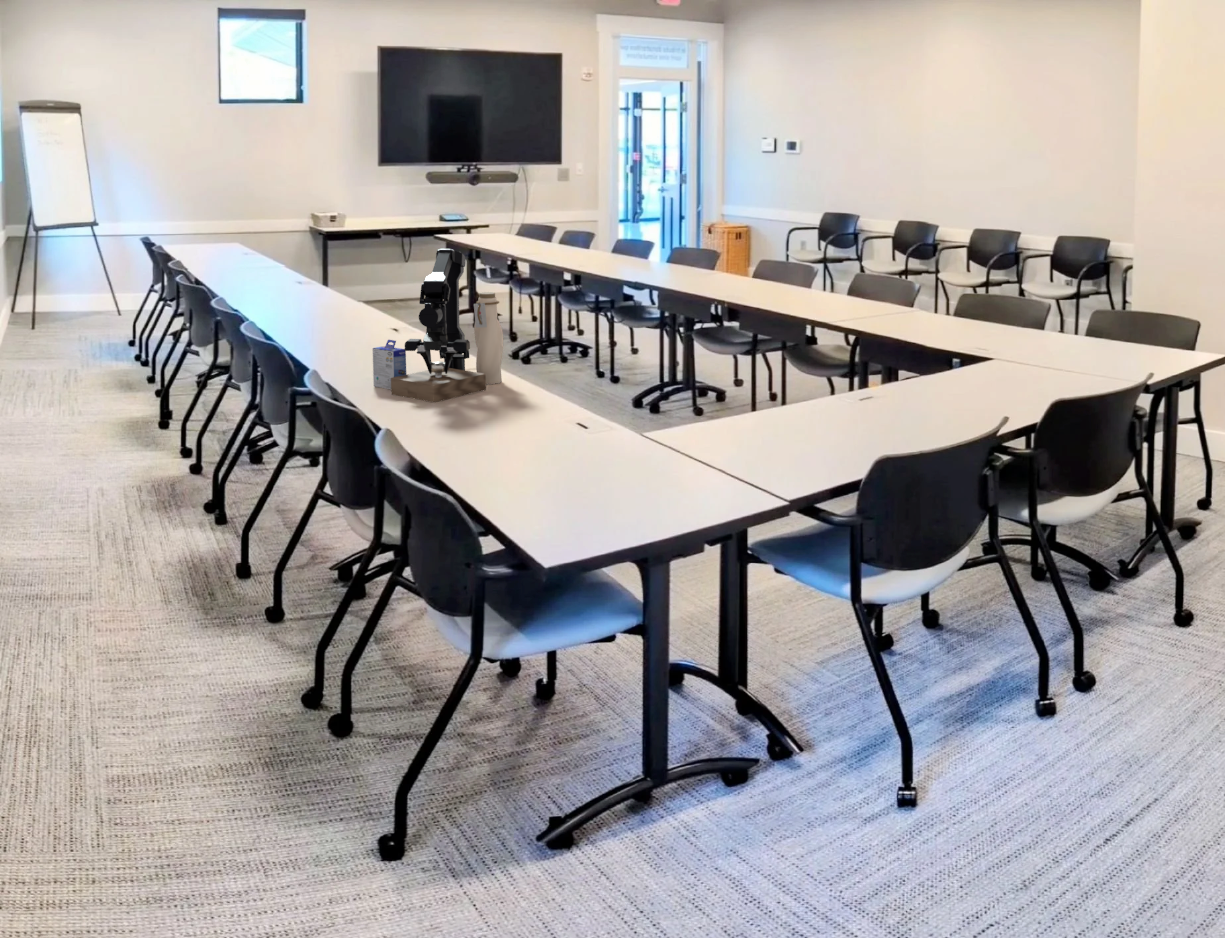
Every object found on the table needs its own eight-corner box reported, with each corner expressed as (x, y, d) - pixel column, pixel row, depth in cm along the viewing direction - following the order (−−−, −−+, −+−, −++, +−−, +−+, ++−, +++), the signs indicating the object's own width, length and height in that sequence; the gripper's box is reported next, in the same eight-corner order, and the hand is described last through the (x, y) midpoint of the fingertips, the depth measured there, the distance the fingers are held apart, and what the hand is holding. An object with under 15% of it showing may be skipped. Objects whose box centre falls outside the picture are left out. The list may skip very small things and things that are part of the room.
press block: (443, 382, 356) (443, 367, 355) (486, 389, 346) (485, 373, 344) (391, 394, 339) (390, 377, 338) (434, 402, 329) (433, 385, 327)
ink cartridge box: (408, 387, 348) (406, 341, 344) (395, 390, 344) (392, 343, 340) (386, 383, 354) (384, 337, 350) (373, 386, 350) (370, 340, 346)
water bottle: (498, 386, 351) (495, 295, 343) (470, 385, 353) (467, 295, 345) (507, 379, 361) (505, 291, 353) (480, 378, 362) (478, 290, 355)
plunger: (439, 389, 345) (438, 360, 343) (449, 391, 343) (448, 362, 340) (428, 391, 342) (427, 363, 339) (439, 393, 339) (438, 364, 337)
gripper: (398, 325, 329) (401, 378, 334) (462, 326, 328) (463, 379, 332) (408, 320, 340) (410, 371, 344) (469, 320, 339) (471, 372, 343)
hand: (438, 373), depth 341 cm, fingers closed on plunger, 4 cm apart
